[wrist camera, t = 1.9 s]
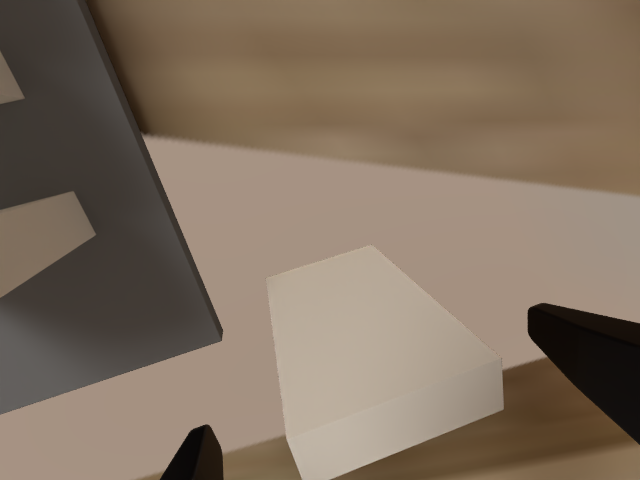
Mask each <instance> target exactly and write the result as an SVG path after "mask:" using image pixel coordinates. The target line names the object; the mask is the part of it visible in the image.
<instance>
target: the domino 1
mask: <svg viewBox="0 0 640 480" xmlns="http://www.w3.org/2000/svg"><path fill="white" fill-rule="evenodd" d="M95 235H96V233H95V231H94V229H93V228H92V226H91V224H90V222H89V220H88V218H87V216H86V214H85V212H84V210H83V208H82V206H81V205H80V203H79V201H78V199H77V197H76V195H75V193H74V191H71V192H67V193H63V194H60V195H56V196H52V197H48V198H44V199H40V200H37V201H33V202H29V203H25V204H21V205H17V206H13V207H10V208H6V209H2V210H0V298H1V297H2V296H4V295H5V294H7V293H8V292H10V291H12V290H13V289H15V288H16V287H18V286H19V285H21V284H22V283H24V282H25V281H27V280H28V279H30V278H31V277H33V276H34V275H36V274H37V273H39V272H40V271H42V270H43V269H45V268H46V267H48V266H50V265H51V264H53V263H54V262H56V261H57V260H59V259H60V258H62V257H63V256H65V255H66V254H68V253H69V252H71V251H72V250H74V249H75V248H77V247H78V246H80V245H81V244H83V243H84V242H86V241H87V240H89V239H91V238H92V237H94V236H95Z"/></svg>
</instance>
